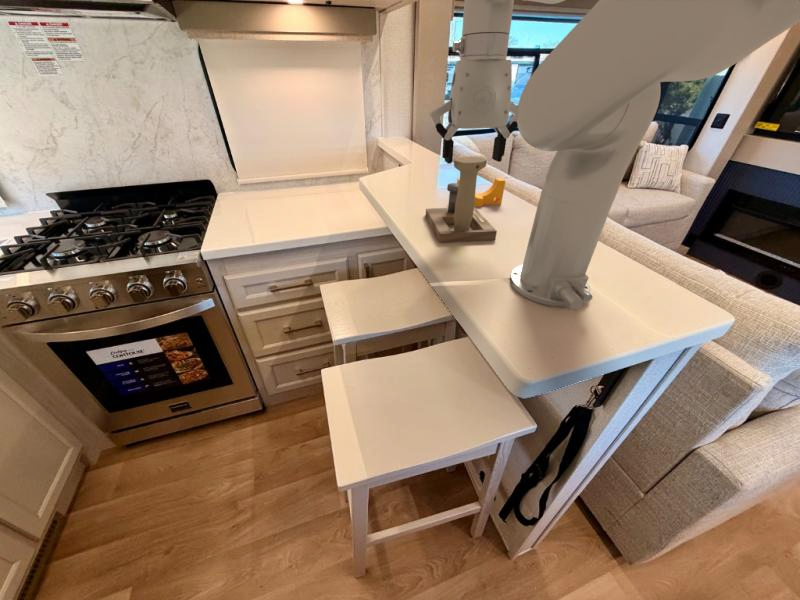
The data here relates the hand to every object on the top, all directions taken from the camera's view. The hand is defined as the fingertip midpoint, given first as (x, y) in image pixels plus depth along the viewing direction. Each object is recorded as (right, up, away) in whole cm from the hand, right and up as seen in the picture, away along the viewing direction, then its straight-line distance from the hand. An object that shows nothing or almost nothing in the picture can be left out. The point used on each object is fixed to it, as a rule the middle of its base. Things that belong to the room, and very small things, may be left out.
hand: (472, 161), depth 63 cm
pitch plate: (-1, -10, +11) cm, 15 cm away
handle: (-1, -12, +9) cm, 15 cm away
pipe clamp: (+7, -1, +25) cm, 26 cm away
